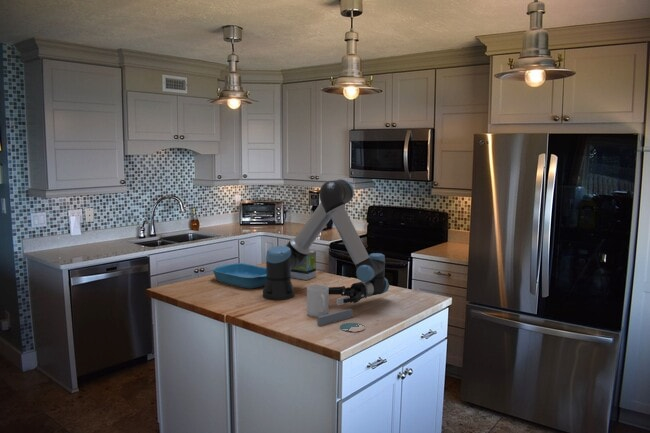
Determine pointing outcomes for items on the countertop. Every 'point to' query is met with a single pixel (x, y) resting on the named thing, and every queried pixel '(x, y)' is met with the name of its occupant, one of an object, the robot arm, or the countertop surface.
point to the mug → (317, 300)
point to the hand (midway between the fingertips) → (326, 298)
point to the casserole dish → (241, 275)
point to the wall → (334, 317)
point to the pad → (349, 325)
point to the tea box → (306, 268)
